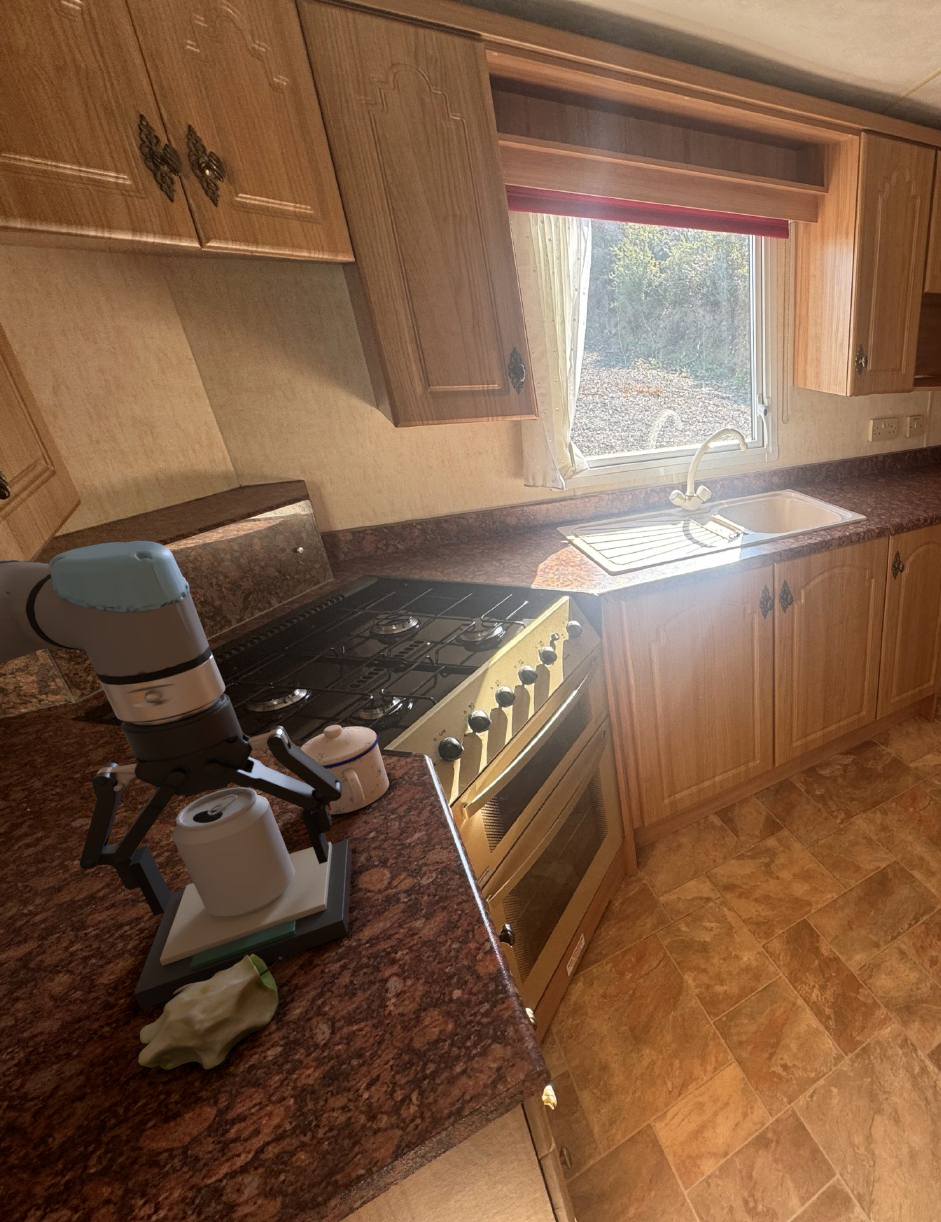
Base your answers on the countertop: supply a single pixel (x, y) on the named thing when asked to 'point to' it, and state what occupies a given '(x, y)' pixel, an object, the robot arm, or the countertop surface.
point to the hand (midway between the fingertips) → (247, 879)
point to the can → (233, 851)
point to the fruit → (211, 1016)
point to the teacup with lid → (350, 765)
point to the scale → (248, 927)
